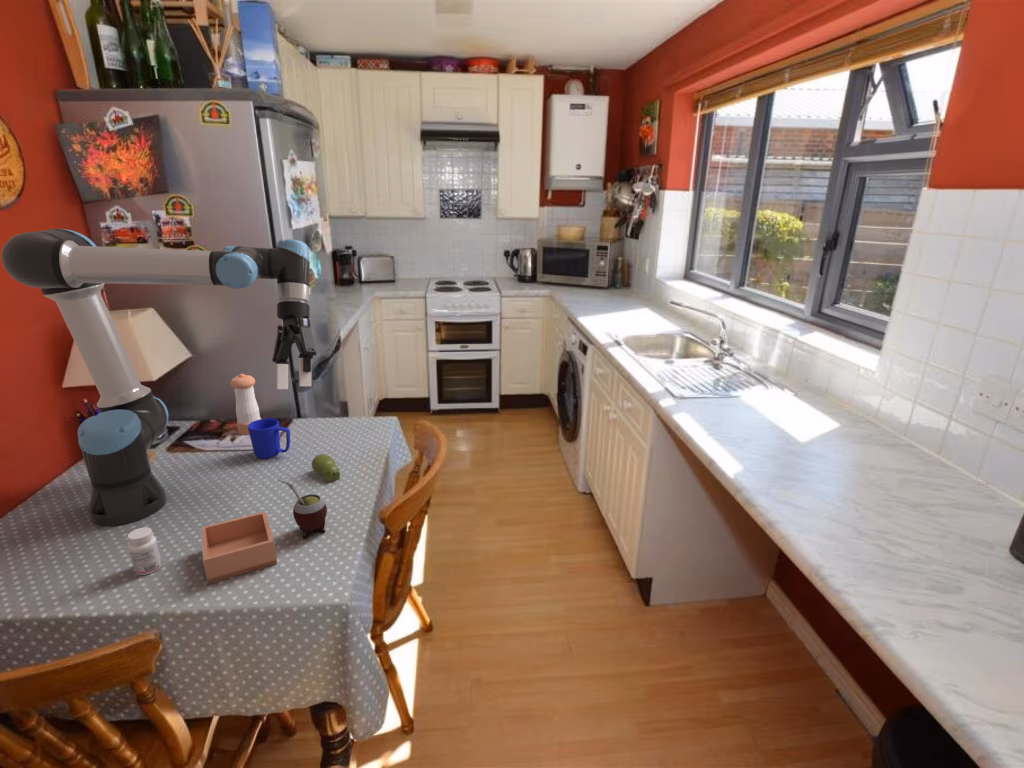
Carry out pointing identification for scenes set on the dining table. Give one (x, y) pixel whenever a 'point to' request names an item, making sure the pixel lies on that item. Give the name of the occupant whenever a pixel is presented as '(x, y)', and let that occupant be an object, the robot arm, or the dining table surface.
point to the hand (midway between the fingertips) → (293, 388)
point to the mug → (267, 438)
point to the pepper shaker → (245, 402)
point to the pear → (326, 467)
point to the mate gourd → (309, 512)
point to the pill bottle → (144, 551)
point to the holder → (237, 547)
